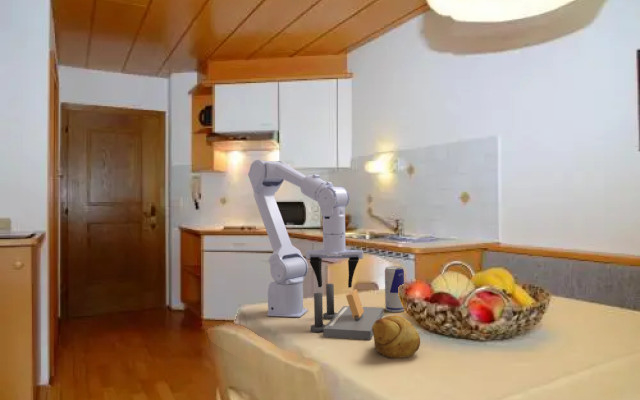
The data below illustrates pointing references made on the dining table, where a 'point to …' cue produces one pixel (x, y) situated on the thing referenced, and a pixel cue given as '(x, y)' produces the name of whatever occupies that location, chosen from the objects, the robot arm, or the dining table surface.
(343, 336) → the panel
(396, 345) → the bread roll
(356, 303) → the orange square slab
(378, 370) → the dining table surface
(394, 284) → the energy drink
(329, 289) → the cord post far
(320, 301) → the post
